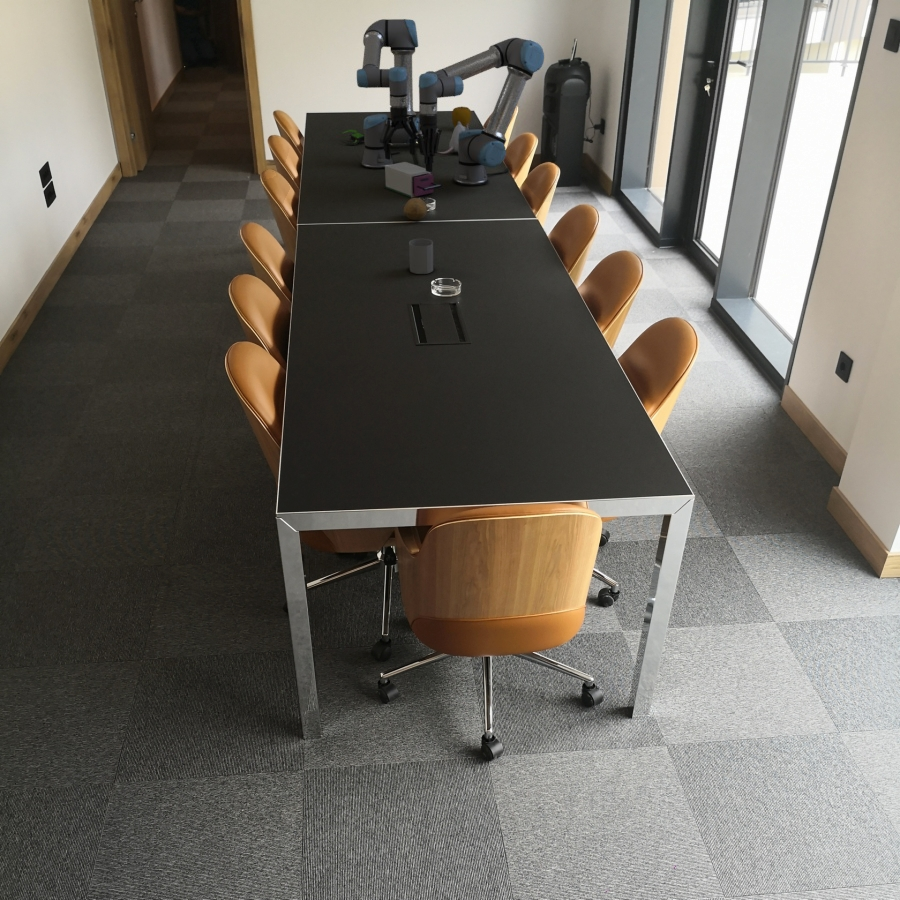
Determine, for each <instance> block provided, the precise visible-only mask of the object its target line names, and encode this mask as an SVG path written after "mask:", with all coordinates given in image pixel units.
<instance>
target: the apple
mask: <svg viewBox="0 0 900 900" xmlns="http://www.w3.org/2000/svg"><path fill="white" fill-rule="evenodd" d="M451 121H452V125H453V129H455V127H456V126H457V124H458V121H459V122H460V123H461V124H462V126H463V127H466V128H467V124H468V127H469V126H470V124H471V121H472V111H471V108H469V107H467V106H462V105H461V106H457V107H454V108H452V111H451Z"/></svg>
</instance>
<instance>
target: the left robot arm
mask: <svg viewBox="0 0 900 900" xmlns="http://www.w3.org/2000/svg"><path fill="white" fill-rule="evenodd" d="M362 44H363V46H364V50H363V60H362V68H358V69H357V70H356V84H357V87H358V88H364V89H373V88H374V89H377V88H378V89H379V88H381V89H385V88H386V89H389V106H390V107H389V115H390V117H389V116H388V114H387V113H377V114H371V115H368V116H366V117H365V118H364V119H363V134H364V140H365V141H364V151H363V155H362V159H361V166H362V167H363V168H366V169H371V170H381V169H385V166H387V165H392V164H394V161H393V158H392V156H393V155H398V154H400V151H394V152H391V144H409V155H411V156H415V154H416V153H415V152H416V151H415V150H416V149H415V148H416V146H417V144H416V142H418V140H417V137H416V135H415V133H418V132H419V128H420V119H419V117H417V113H416V112H415V111H414V86H413V85H414V84H413V82H414V81H413V80H414V79H413V55H414V54H415V53H416V48H419V39H418V31H417V25H416V21H415V20H414V19H407V18H402V19H401V18H400V19H399V18H398V19H397V18H394V19H393V18H391V19H390V18H387V19H386V18H384V19H383V18H382V19H379V20H376V21H374V22H373V23H371V24H370V25H369V26H368V27H367V29H366V30H365V32H364V34H363V38H362ZM383 48H390V53H391V54H392V55H393V67H390V68H380V67H381V58H382V57H381V55H382V49H383Z"/></svg>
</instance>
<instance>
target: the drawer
mask: <svg viewBox="0 0 900 900" xmlns="http://www.w3.org/2000/svg"><path fill="white" fill-rule="evenodd" d="M434 182H435V181H434V174H433V173H431V174H422V175H418V176H413V177H412V187H413V194H414V196H416V197H419V196H424V195H428V193H429V194H433V193H434V192H435V191H434V189H438V188H441V184H439V183H434Z"/></svg>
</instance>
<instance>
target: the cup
mask: <svg viewBox="0 0 900 900" xmlns="http://www.w3.org/2000/svg"><path fill="white" fill-rule="evenodd" d="M408 253H409V272H411V273H412V274H416V275H426V274H430V273H432V272H434V241H433V240H431V239H428V238H422V237H421V238H420V237H419V238H414V239H411V240H410V241H409V242H408Z"/></svg>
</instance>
